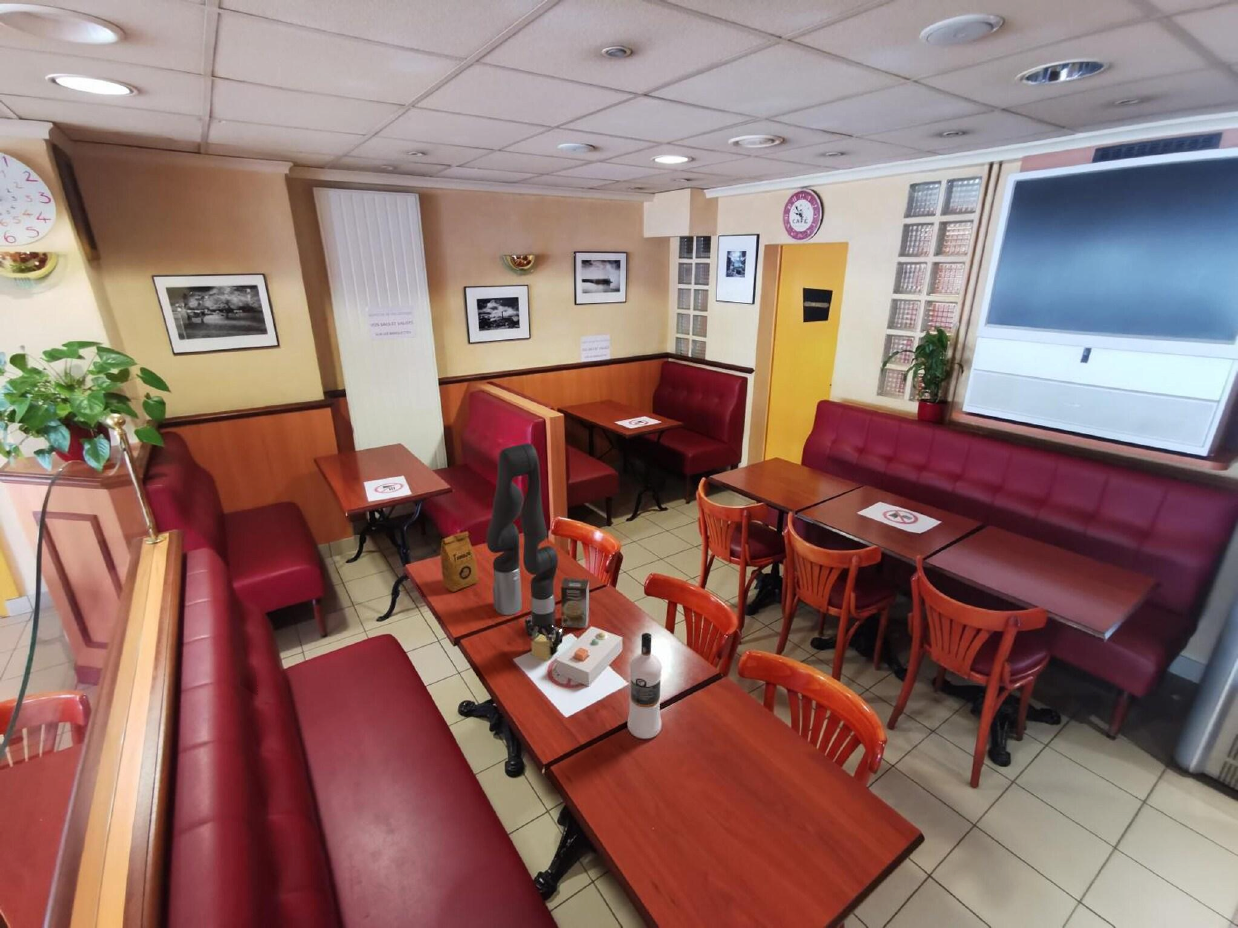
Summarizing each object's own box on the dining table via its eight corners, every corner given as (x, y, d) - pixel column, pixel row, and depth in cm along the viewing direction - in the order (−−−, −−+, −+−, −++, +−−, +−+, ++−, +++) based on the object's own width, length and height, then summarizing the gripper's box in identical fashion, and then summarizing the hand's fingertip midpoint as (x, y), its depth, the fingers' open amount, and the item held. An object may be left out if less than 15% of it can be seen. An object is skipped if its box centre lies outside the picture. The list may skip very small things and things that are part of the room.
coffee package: (481, 584, 230) (477, 534, 223) (451, 595, 223) (446, 543, 216) (470, 574, 238) (465, 525, 230) (440, 584, 230) (435, 534, 223)
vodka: (666, 722, 162) (670, 630, 152) (651, 745, 154) (654, 650, 145) (637, 710, 166) (638, 620, 156) (621, 732, 159) (622, 638, 149)
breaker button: (574, 665, 182) (574, 652, 180) (580, 660, 184) (579, 647, 182) (582, 669, 180) (582, 655, 178) (588, 663, 183) (588, 650, 181)
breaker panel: (556, 672, 181) (555, 655, 179) (591, 638, 198) (591, 622, 196) (589, 686, 176) (588, 668, 174) (622, 650, 192) (622, 633, 190)
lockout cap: (532, 654, 190) (531, 641, 188) (543, 644, 195) (542, 632, 193) (547, 660, 187) (546, 647, 185) (558, 650, 192) (557, 637, 190)
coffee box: (560, 627, 204) (559, 586, 199) (564, 616, 210) (563, 577, 205) (587, 628, 203) (586, 588, 198) (589, 618, 209) (589, 578, 204)
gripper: (517, 605, 185) (520, 650, 191) (554, 618, 178) (556, 664, 184) (532, 594, 191) (534, 638, 197) (568, 607, 184) (569, 651, 190)
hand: (545, 650), depth 190 cm, fingers closed on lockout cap, 6 cm apart
